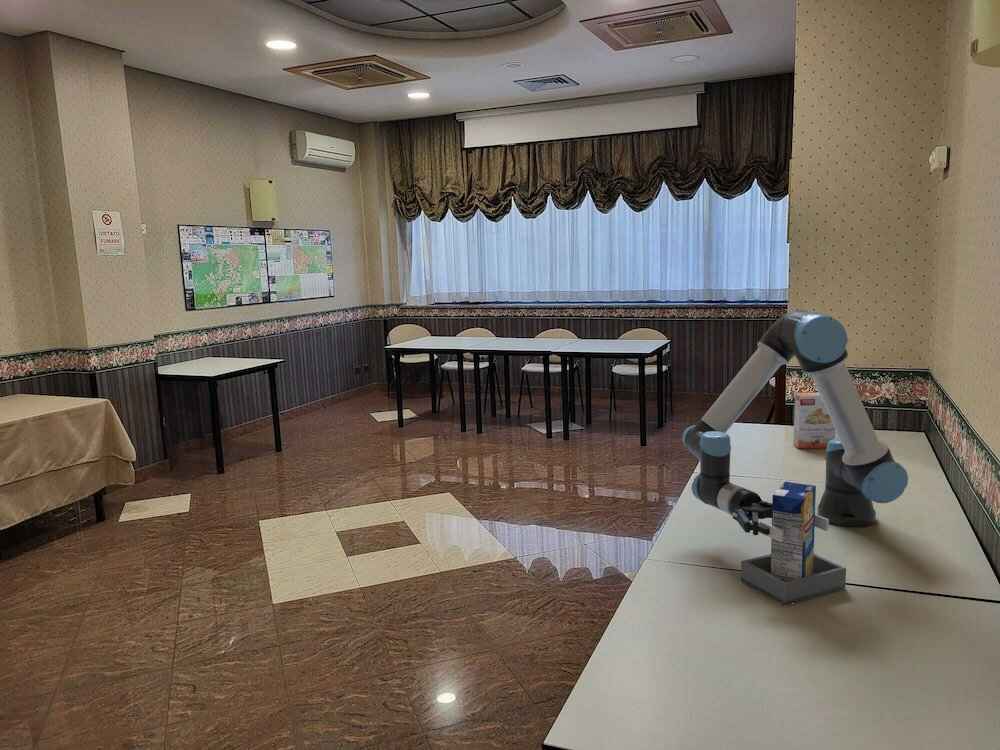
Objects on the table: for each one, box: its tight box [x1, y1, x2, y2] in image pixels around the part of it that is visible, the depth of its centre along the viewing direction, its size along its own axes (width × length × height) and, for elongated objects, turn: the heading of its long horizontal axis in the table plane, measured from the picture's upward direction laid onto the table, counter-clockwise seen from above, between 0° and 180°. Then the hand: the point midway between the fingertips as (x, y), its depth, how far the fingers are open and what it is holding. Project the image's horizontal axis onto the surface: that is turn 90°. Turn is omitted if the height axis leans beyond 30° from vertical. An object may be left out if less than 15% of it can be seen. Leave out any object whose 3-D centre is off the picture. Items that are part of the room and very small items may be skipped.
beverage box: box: [770, 481, 817, 582], centre depth 172 cm, size 7×11×22 cm, turn 145°
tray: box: [740, 553, 847, 606], centre depth 173 cm, size 18×14×5 cm
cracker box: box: [792, 392, 836, 449], centre depth 284 cm, size 14×6×21 cm, turn 88°
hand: (805, 530), depth 168 cm, fingers open, 13 cm apart
